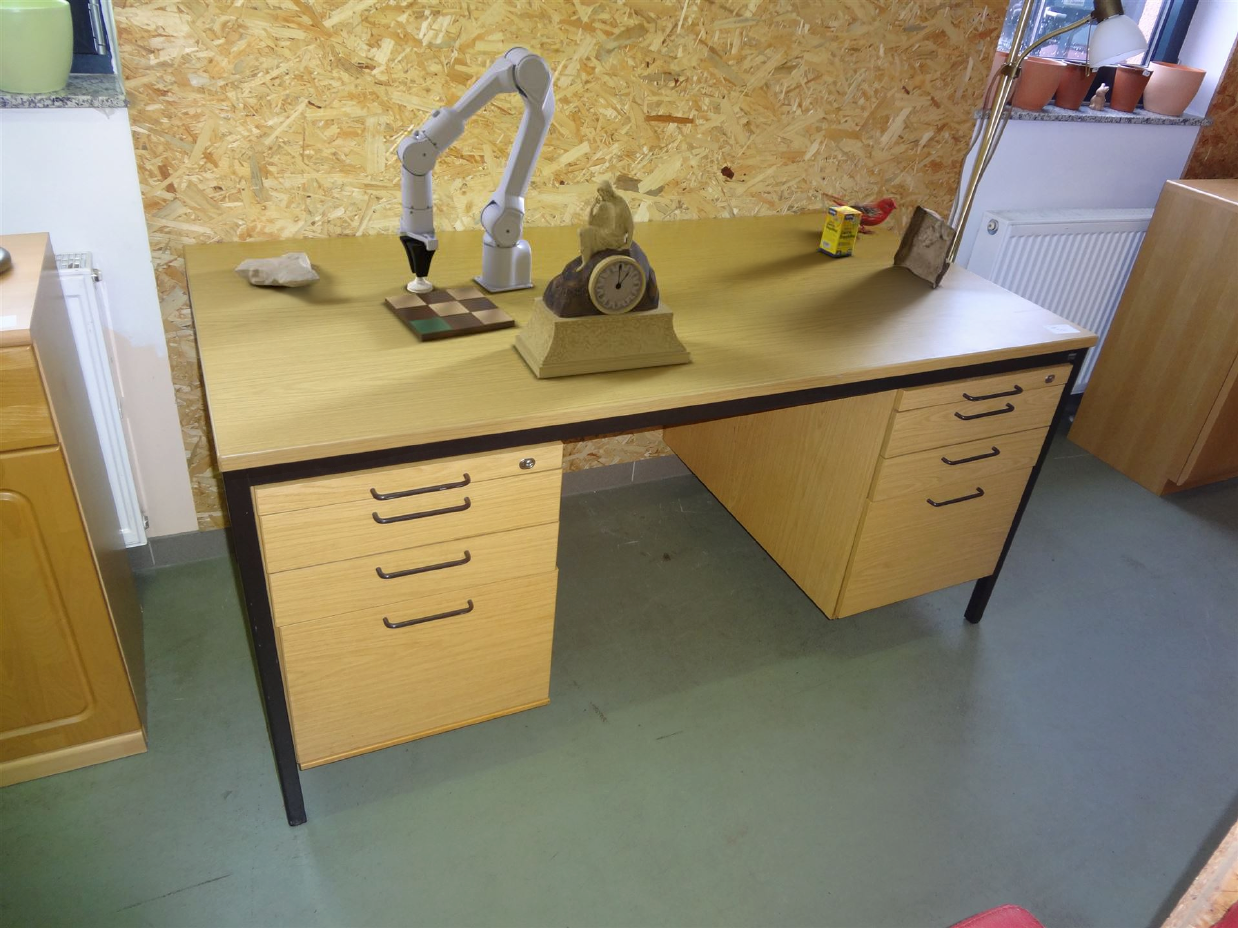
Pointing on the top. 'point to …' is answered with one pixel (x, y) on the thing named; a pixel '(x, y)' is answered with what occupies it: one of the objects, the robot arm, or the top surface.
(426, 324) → the game board
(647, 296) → the decorative clock
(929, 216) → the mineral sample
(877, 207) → the decorative bird figurine
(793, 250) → the top surface
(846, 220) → the supplement box
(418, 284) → the chess piece
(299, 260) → the rock
